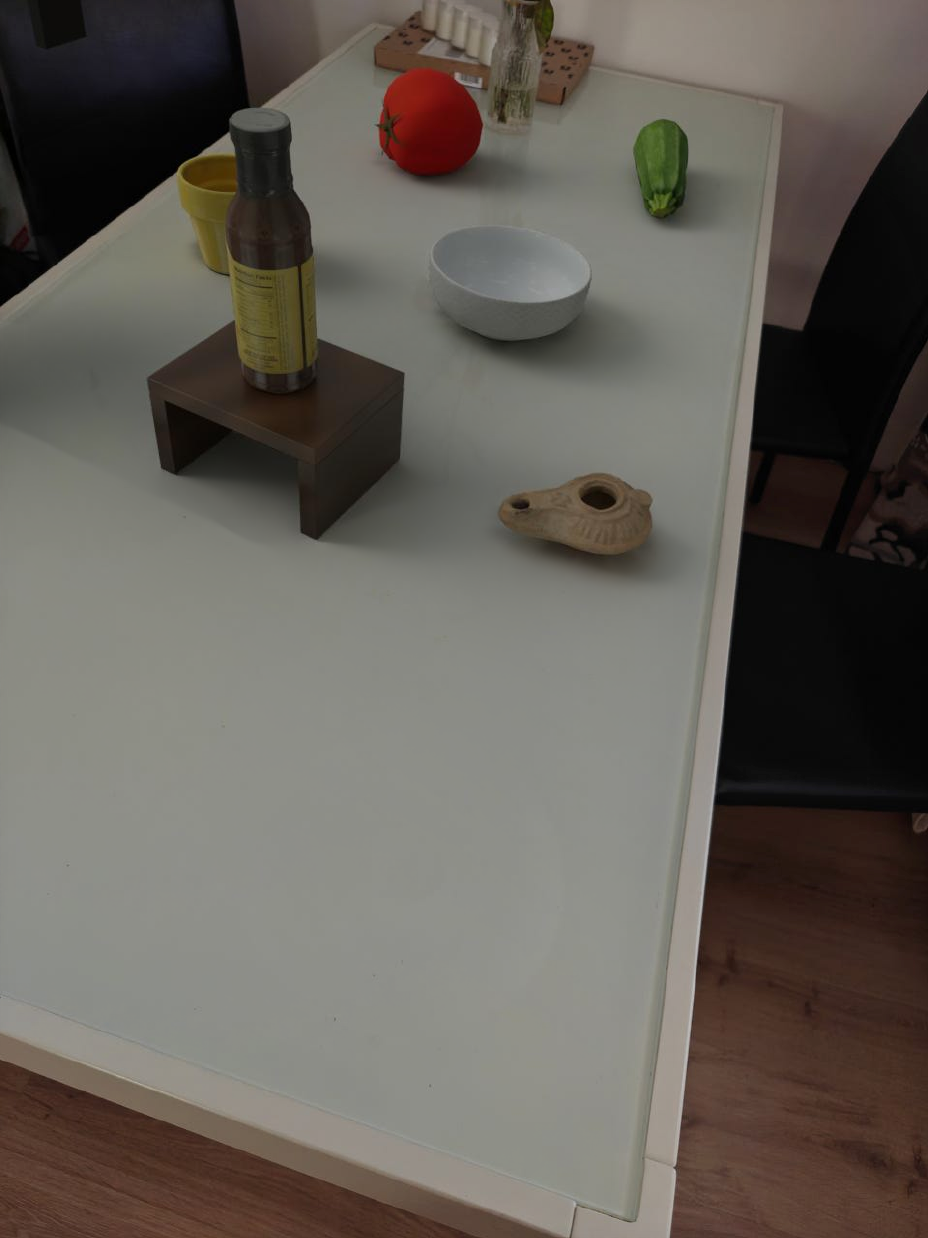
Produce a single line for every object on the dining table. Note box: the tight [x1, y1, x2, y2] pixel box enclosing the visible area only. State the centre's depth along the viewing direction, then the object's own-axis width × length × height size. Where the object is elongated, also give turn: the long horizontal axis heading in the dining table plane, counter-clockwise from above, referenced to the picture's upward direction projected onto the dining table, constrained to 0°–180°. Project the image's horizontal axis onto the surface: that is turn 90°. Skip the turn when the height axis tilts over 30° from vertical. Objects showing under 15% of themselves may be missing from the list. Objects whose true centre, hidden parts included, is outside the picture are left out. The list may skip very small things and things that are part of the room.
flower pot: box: [176, 152, 238, 276], centre depth 107 cm, size 10×10×10 cm
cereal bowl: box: [428, 224, 593, 342], centre depth 104 cm, size 17×17×7 cm
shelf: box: [146, 319, 406, 541], centre depth 83 cm, size 16×13×9 cm
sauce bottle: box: [225, 107, 318, 394], centre depth 73 cm, size 6×6×20 cm
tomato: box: [374, 67, 484, 176], centre depth 128 cm, size 13×13×13 cm
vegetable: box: [632, 118, 689, 219], centre depth 130 cm, size 7×7×20 cm
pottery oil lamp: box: [497, 472, 654, 555], centre depth 81 cm, size 9×12×7 cm
